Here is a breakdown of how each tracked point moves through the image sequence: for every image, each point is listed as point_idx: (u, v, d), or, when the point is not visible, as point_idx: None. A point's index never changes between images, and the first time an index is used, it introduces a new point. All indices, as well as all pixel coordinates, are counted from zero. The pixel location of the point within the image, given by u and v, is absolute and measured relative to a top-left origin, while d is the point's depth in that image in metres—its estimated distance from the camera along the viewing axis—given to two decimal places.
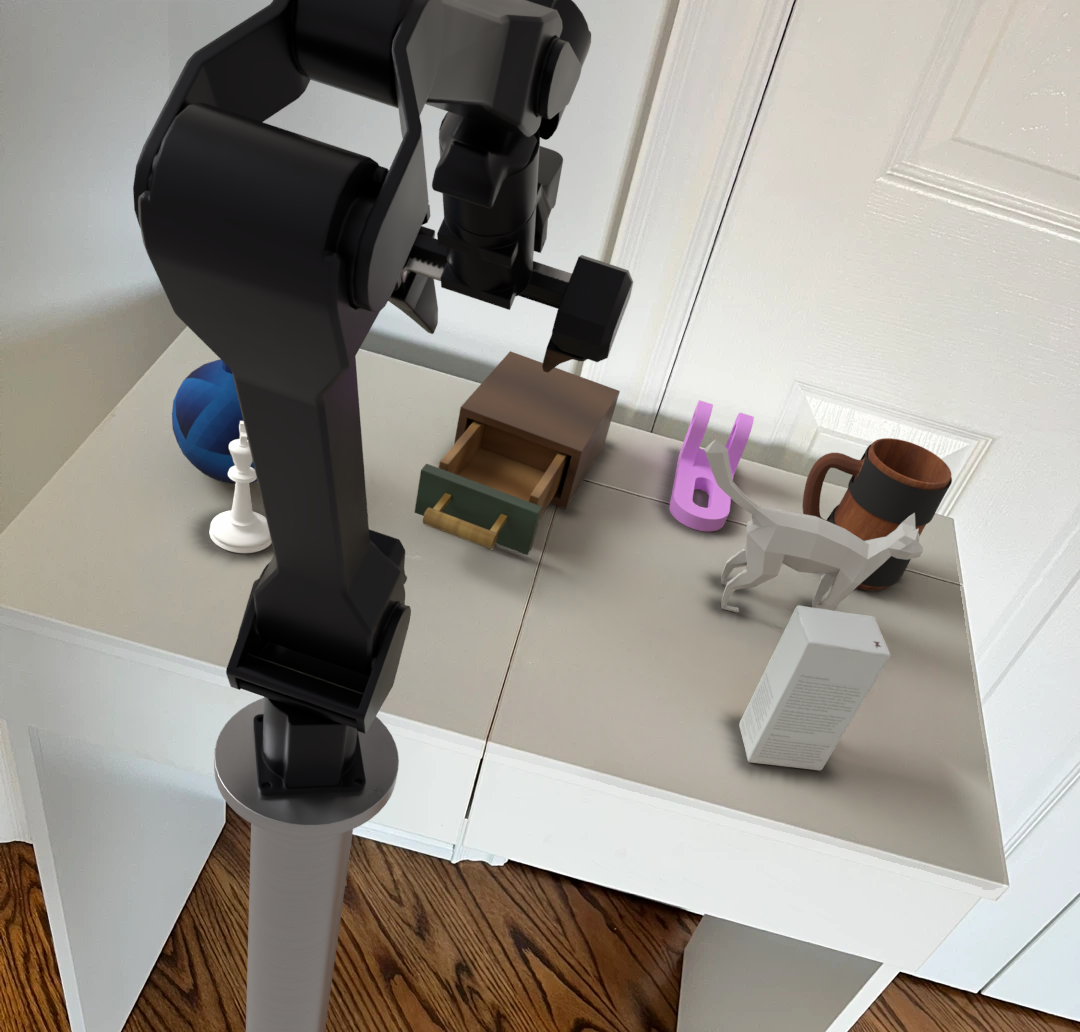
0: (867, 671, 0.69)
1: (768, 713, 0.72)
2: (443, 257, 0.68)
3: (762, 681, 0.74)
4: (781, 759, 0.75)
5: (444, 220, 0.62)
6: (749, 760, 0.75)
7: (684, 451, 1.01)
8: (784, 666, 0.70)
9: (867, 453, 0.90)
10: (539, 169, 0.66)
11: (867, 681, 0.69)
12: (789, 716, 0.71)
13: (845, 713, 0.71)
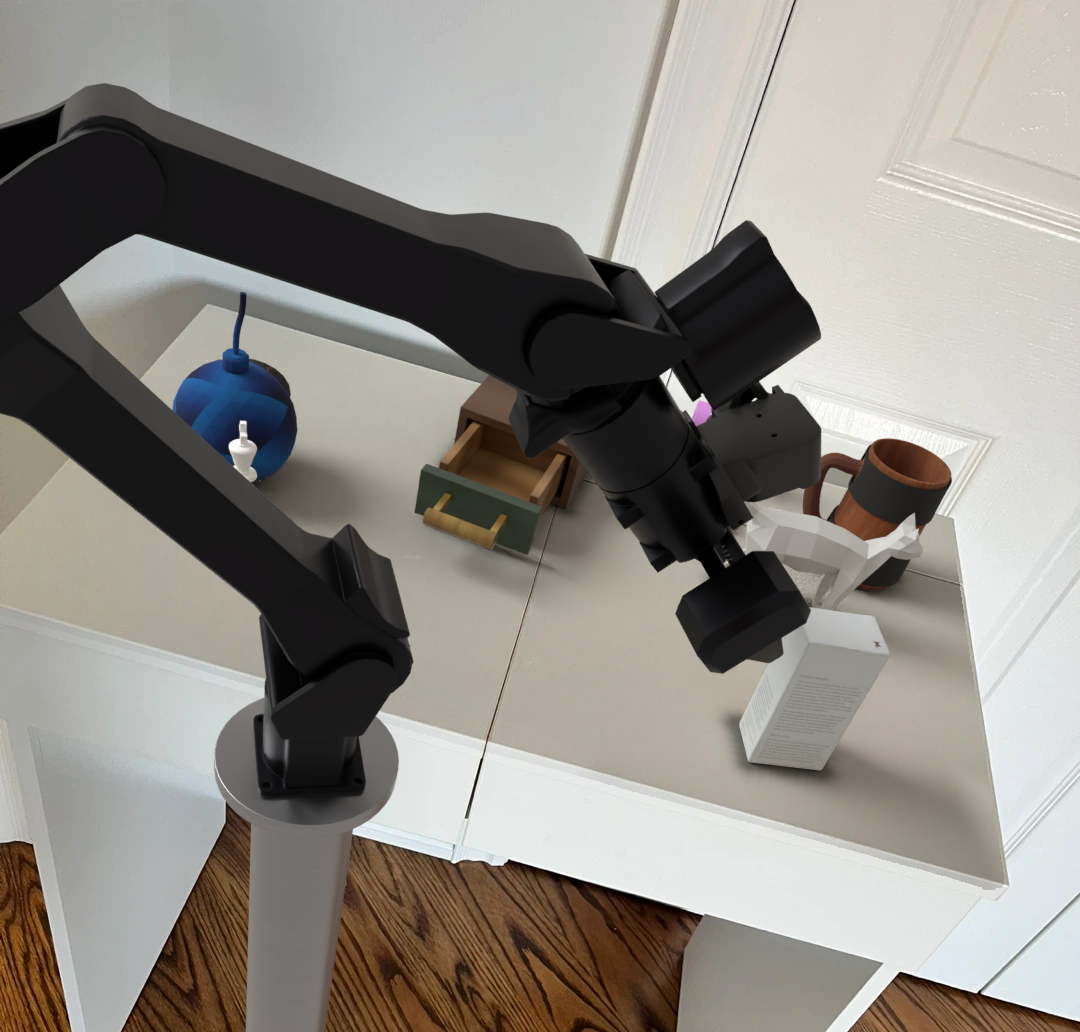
0: (867, 671, 0.69)
1: (768, 713, 0.72)
2: None
3: (762, 681, 0.74)
4: (781, 759, 0.75)
5: None
6: (749, 760, 0.75)
7: None
8: (784, 666, 0.70)
9: (867, 453, 0.90)
10: (769, 441, 0.54)
11: (867, 681, 0.69)
12: (789, 716, 0.71)
13: (845, 713, 0.71)
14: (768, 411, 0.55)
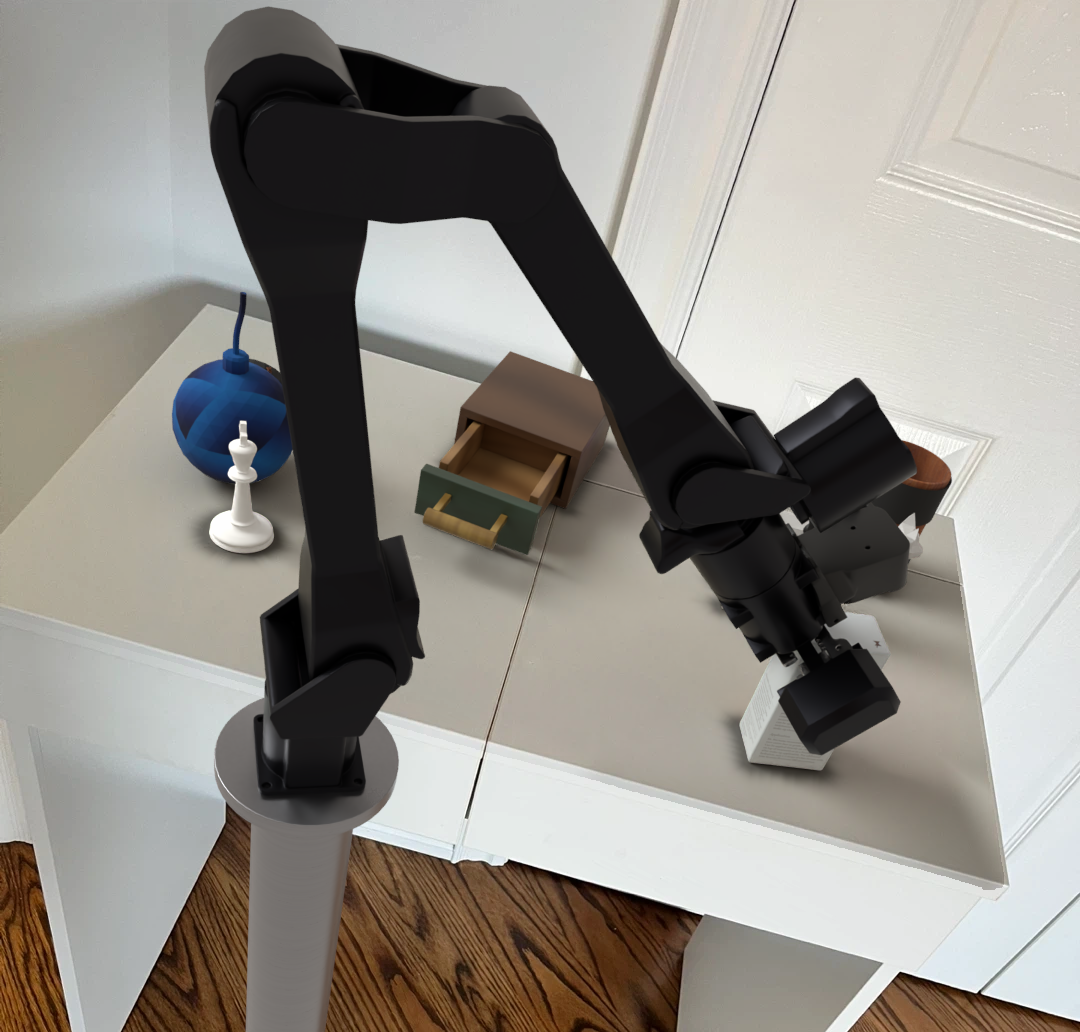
0: None
1: (769, 712, 0.72)
2: None
3: (762, 681, 0.74)
4: (782, 759, 0.75)
5: None
6: (749, 760, 0.75)
7: None
8: None
9: None
10: (864, 552, 0.61)
11: None
12: None
13: None
14: (861, 524, 0.63)
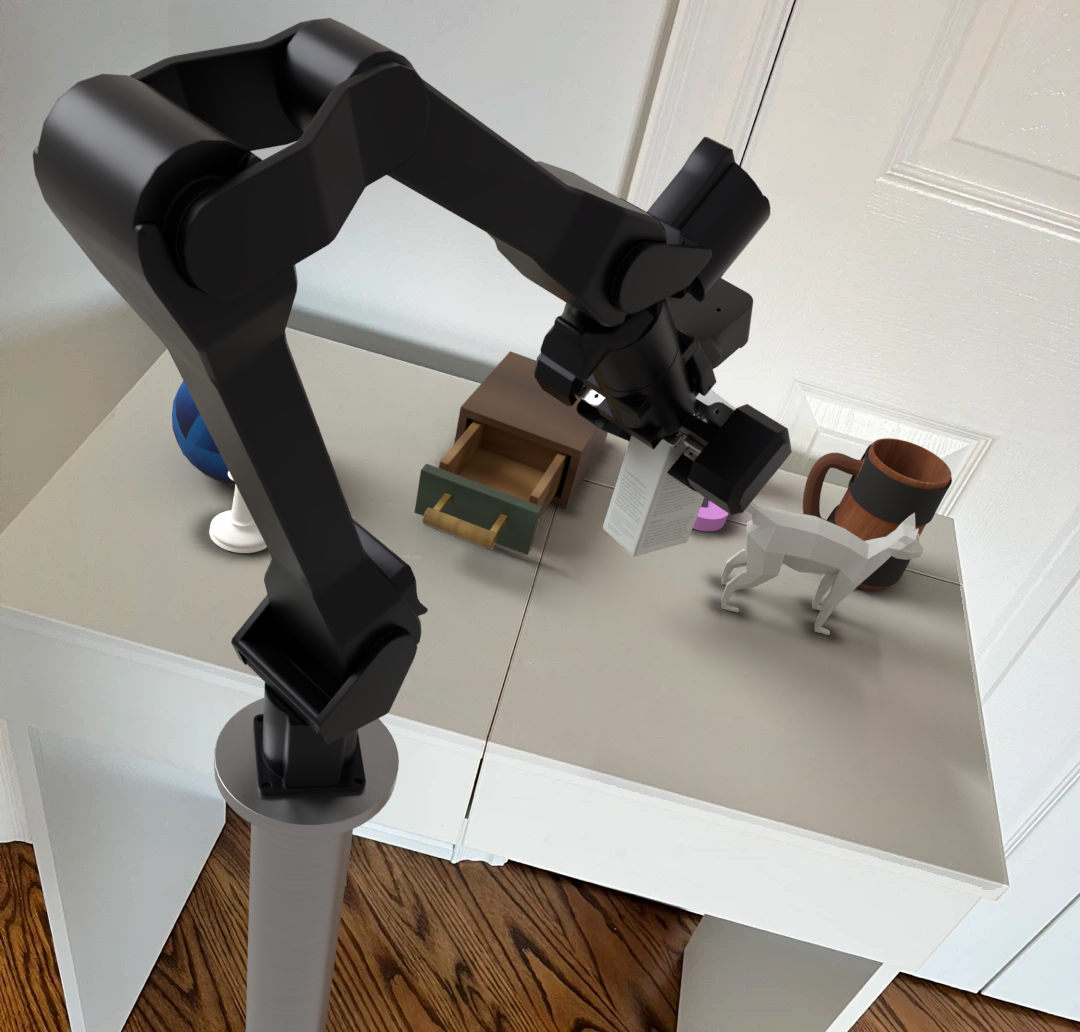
0: None
1: (646, 502, 0.75)
2: None
3: (622, 477, 0.76)
4: (659, 543, 0.79)
5: None
6: (634, 555, 0.78)
7: None
8: (652, 453, 0.73)
9: (867, 453, 0.90)
10: (718, 315, 0.65)
11: None
12: (664, 499, 0.75)
13: None
14: None
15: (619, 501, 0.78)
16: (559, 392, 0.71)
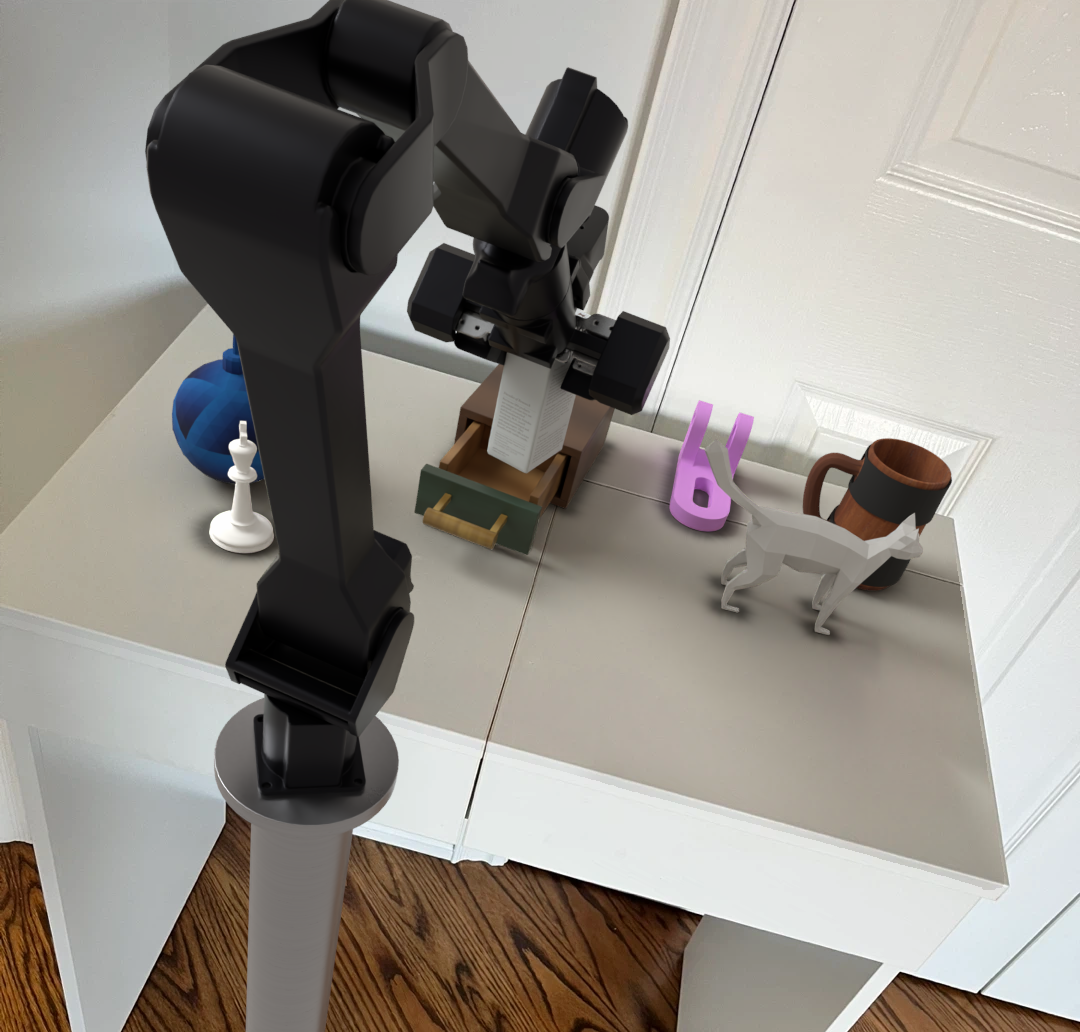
0: None
1: (532, 420, 0.80)
2: None
3: (502, 400, 0.81)
4: (543, 455, 0.84)
5: None
6: (527, 471, 0.83)
7: (684, 451, 1.01)
8: (532, 372, 0.78)
9: (867, 453, 0.90)
10: (583, 232, 0.70)
11: None
12: (547, 413, 0.80)
13: None
14: None
15: (502, 424, 0.82)
16: (440, 330, 0.74)
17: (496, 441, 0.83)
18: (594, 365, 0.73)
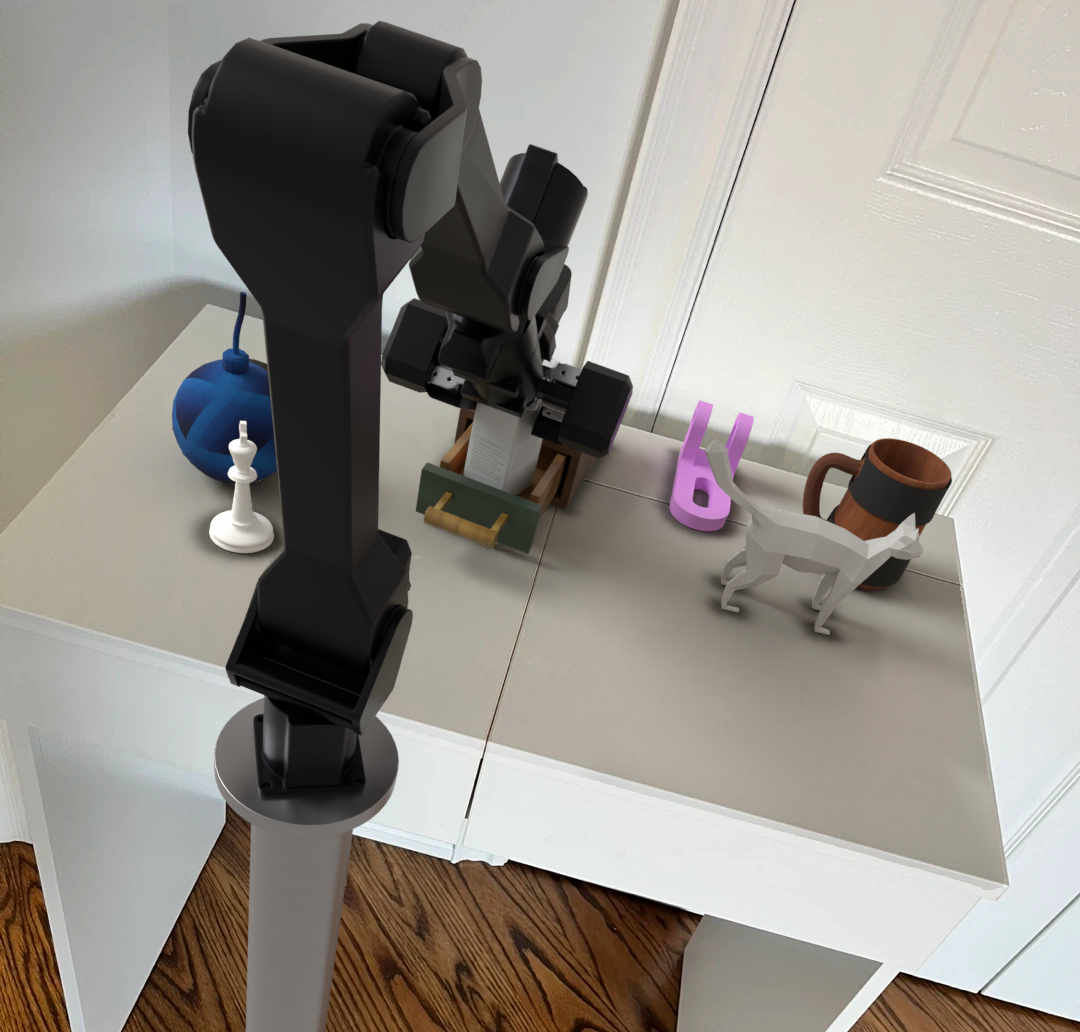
0: None
1: (504, 461, 0.84)
2: None
3: (474, 443, 0.84)
4: (515, 492, 0.88)
5: None
6: None
7: (684, 451, 1.01)
8: (502, 417, 0.81)
9: (867, 453, 0.90)
10: None
11: None
12: (518, 454, 0.84)
13: None
14: None
15: (475, 464, 0.85)
16: (414, 382, 0.77)
17: None
18: (562, 412, 0.77)
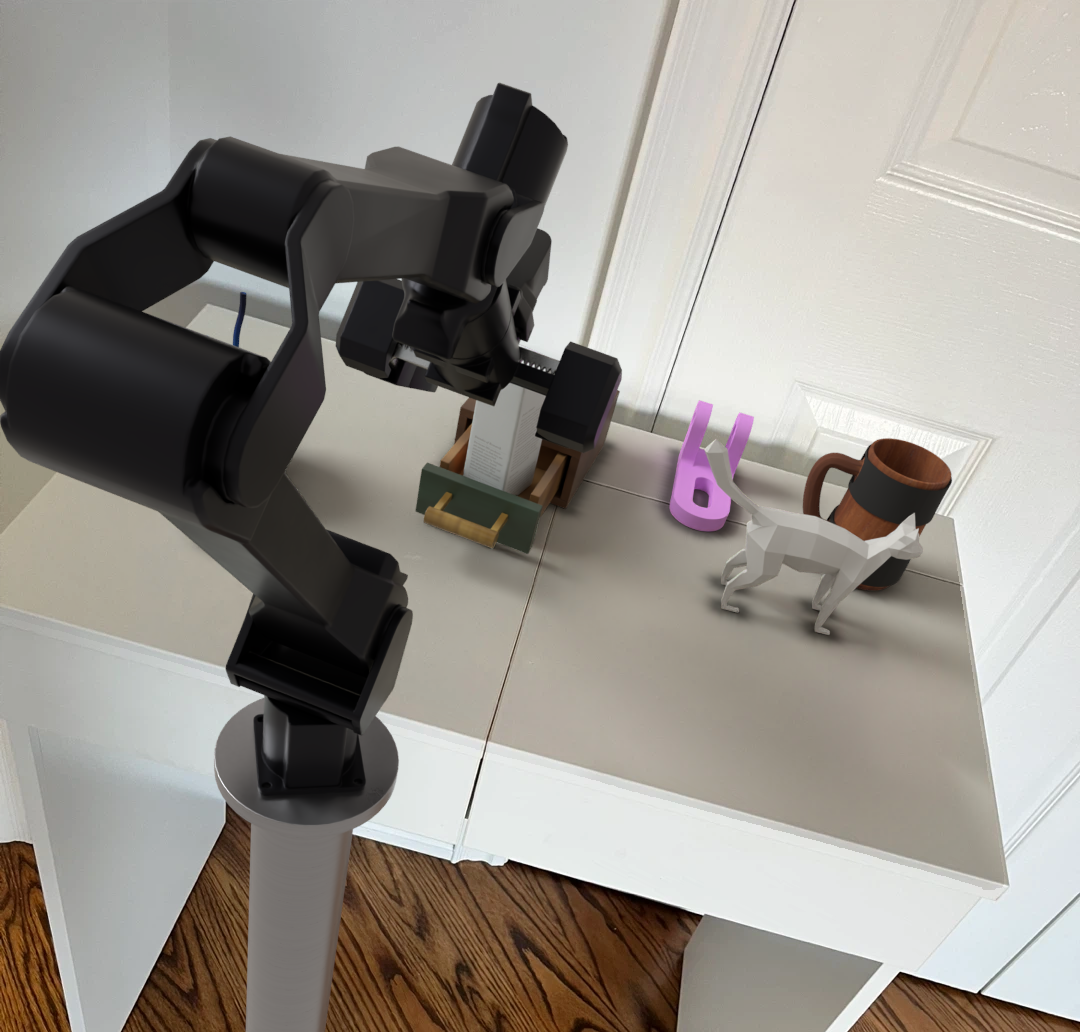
0: None
1: (503, 461, 0.84)
2: None
3: (473, 443, 0.84)
4: (515, 492, 0.88)
5: None
6: None
7: (684, 451, 1.01)
8: (501, 418, 0.81)
9: (867, 453, 0.90)
10: (524, 258, 0.64)
11: None
12: (517, 454, 0.84)
13: None
14: None
15: (474, 465, 0.85)
16: (372, 366, 0.68)
17: None
18: None
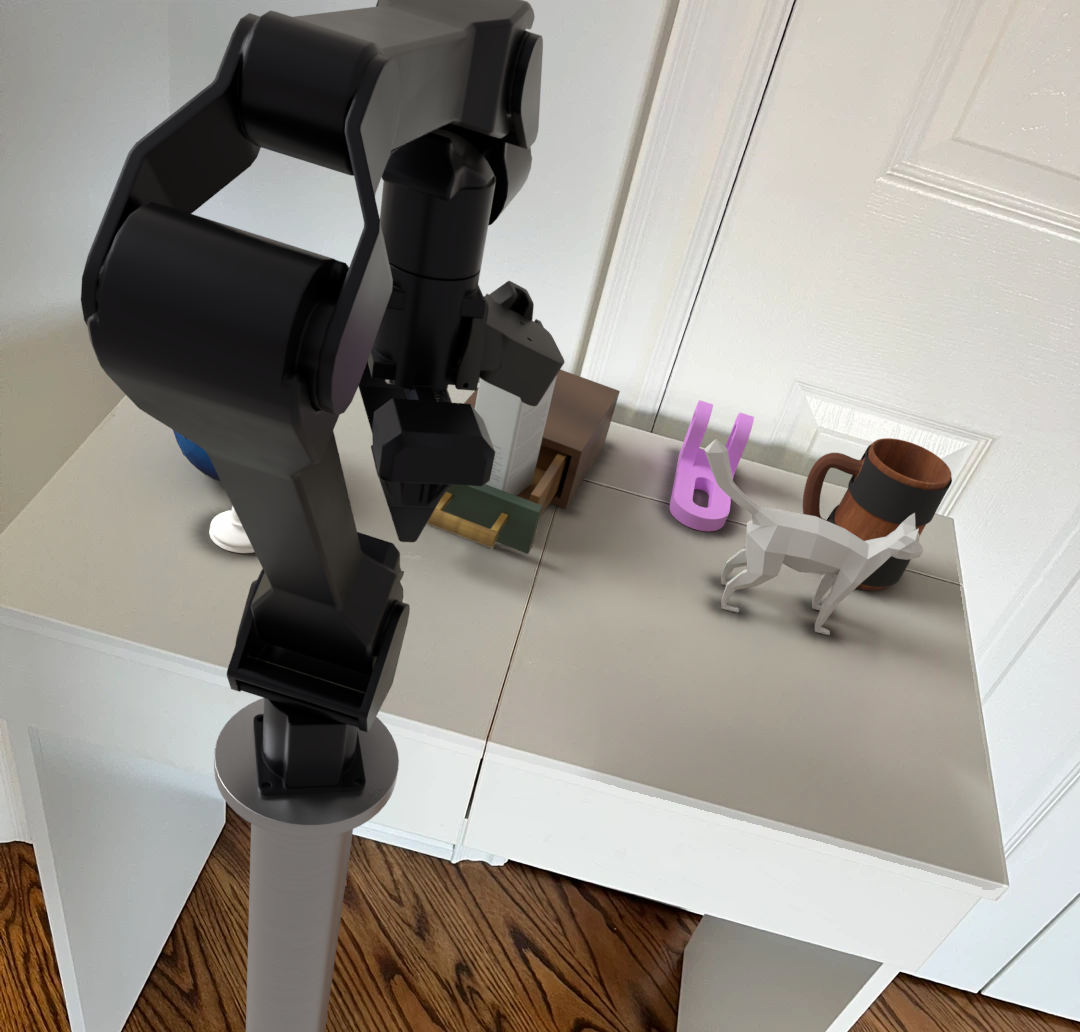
0: None
1: (503, 461, 0.84)
2: None
3: None
4: (515, 492, 0.88)
5: None
6: None
7: (684, 451, 1.01)
8: (501, 418, 0.81)
9: (867, 453, 0.90)
10: (525, 339, 0.59)
11: (550, 392, 0.84)
12: (517, 454, 0.84)
13: (541, 427, 0.86)
14: (529, 326, 0.61)
15: None
16: None
17: None
18: None
